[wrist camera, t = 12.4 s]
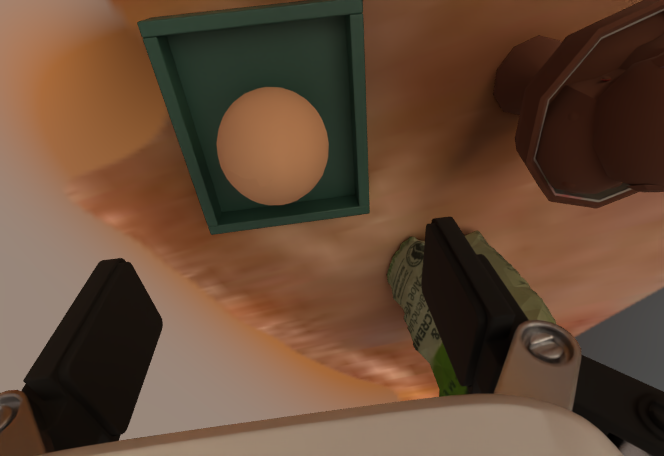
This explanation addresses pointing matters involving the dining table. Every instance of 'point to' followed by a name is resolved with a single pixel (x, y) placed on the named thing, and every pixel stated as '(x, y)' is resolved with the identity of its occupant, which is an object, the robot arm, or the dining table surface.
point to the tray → (266, 71)
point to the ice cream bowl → (591, 107)
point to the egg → (272, 146)
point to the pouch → (418, 317)
